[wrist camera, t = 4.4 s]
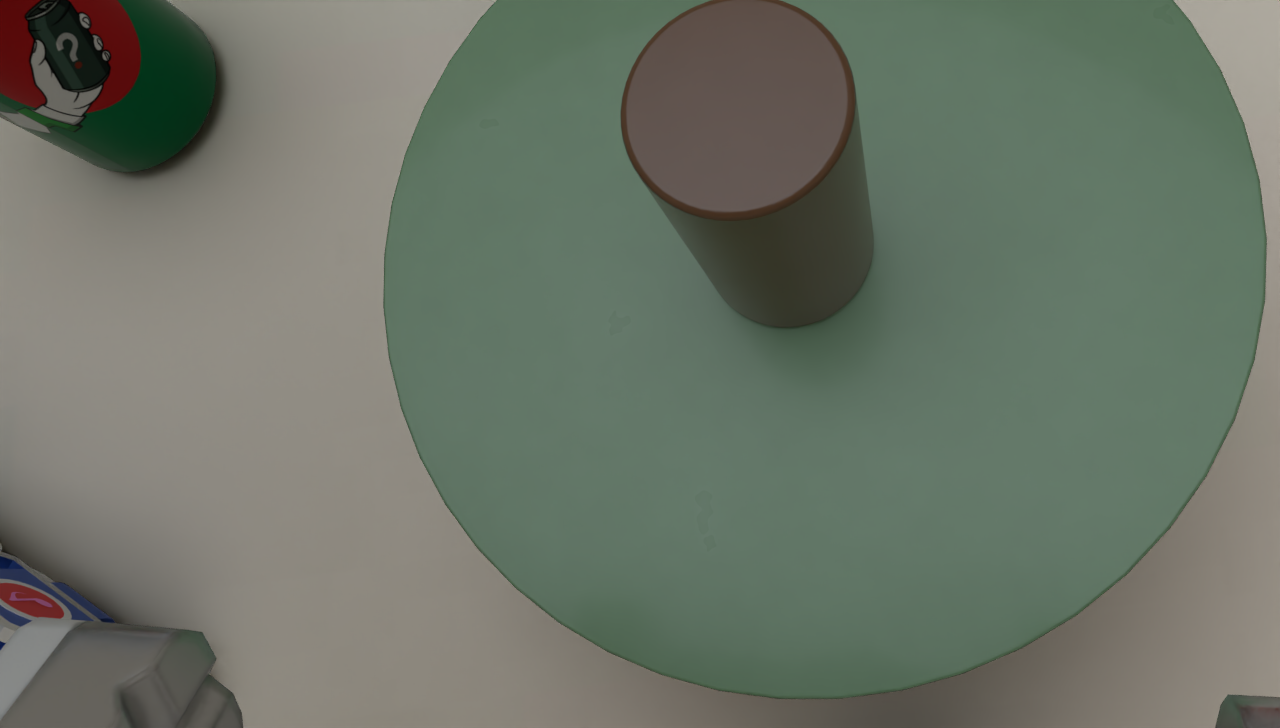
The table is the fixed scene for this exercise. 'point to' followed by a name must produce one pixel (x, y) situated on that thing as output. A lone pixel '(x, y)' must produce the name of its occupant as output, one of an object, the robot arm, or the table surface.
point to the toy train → (37, 598)
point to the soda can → (105, 77)
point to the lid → (823, 319)
